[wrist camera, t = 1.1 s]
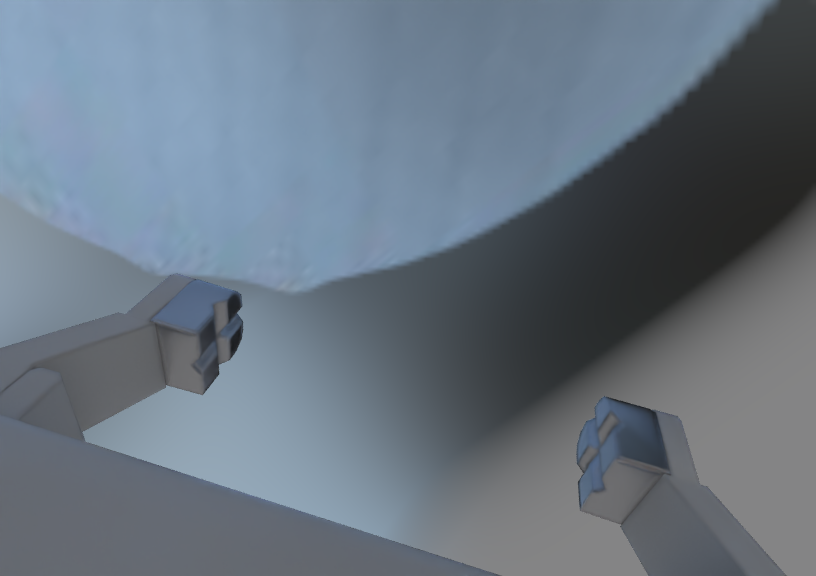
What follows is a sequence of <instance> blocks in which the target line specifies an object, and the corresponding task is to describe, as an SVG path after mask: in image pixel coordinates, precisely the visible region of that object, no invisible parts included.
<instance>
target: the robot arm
mask: <svg viewBox="0 0 816 576" xmlns="http://www.w3.org/2000/svg"><path fill="white" fill-rule="evenodd" d="M241 307H242V298H241V294H240V293H238V292H237V291H234V290H231V289H227V288H224V287H221V286H218V285H215V284H212V283H208V282H205V281H202V280H199V279H194V278H191V277H188V276H184V275H181V274H178V273H176V274H172V275H170V276H169V277H168V278H166V279H165V280H164V281H163V282H162V283H161V284H160V285H158V286H157V287H156V288H155V289H154V290H152V291H151V292H150V293H149V294H148V295H147V296H146V297H144V298H143V299H142V300H141V301H140V302H139V303H138V304H137V305H135V306H134V307H133V308H132V309H131V310H130V311H128V312H127V313H126V314H122V313H115V314H112V315H109V316H106V317H102V318H99V319H95V320H92V321H89V322H86V323H82V324H79V325H76V326H72V327H69V328H66V329H62V330H59V331H56V332H52V333H49V334H46V335H42V336H39V337H36V338H32V339H29V340H26V341H23V342H20V343H16V344H12V345H9V346H6V347H3V348H0V576H500V575H498V574H494V573H491V572H488V571H485V570H482V569H479V568H476V567H472V566H469V565H466V564H463V563H460V562H457V561H454V560H451V559H448V558H445V557H441V556H438V555H435V554H432V553H429V552H426V551H423V550H420V549H416V548H413V547H410V546H407V545H404V544H401V543H398V542H395V541H392V540H388V539H385V538H382V537H379V536H376V535H373V534H370V533H367V532H363V531H361V530H357V529H354V528H351V527H348V526H345V525H342V524H339V523H336V522H332V521H330V520H326V519H323V518H320V517H317V516H314V515H311V514H308V513H305V512H301V511H298V510H295V509H292V508H289V507H286V506H283V505H280V504H277V503H274V502H271V501H268V500H265V499H261V498H258V497H255V496H252V495H249V494H245V493H242V492H240V491H237V490H233V489H230V488H227V487H224V486H221V485H218V484H215V483H212V482H209V481H205V480H202V479H199V478H196V477H193V476H190V475H187V474H183V473H181V472H178V471H175V470H171V469H168V468H165V467H162V466H159V465H156V464H153V463H150V462H147V461H144V460H140V459H137V458H134V457H131V456H128V455H125V454H122V453H119V452H116V451H112V450H109V449H106V448H103V447H100V446H97V445H94V444H91V443H87V442H85V439H84V436H83V433H82V432H83V431H85V430H87V429H89V428H90V427H92V426H94V425H96V424H98V423H100V422H102V421H103V420H105V419H107V418H109V417H111V416H113V415H115V414H117V413H119V412H120V411H122V410H124V409H126V408H128V407H130V406H132V405H134V404H135V403H137V402H139V401H141V400H143V399H145V398H147V397H149V396H150V395H152V394H154V393H156V392H158V391H160V390H162V389H164V388H166V385H168V386H172V387H175V388H179V389H182V390H186V391H190V392H193V393H197V394H201V395H203V394H204V393H205V391H206V390H207V389H208V388H209V387H210V385H211V384H212V383H213V381H214V380H215V379H216V377H217V376H218V375H219V364H222V363H224V362H226V361H229V360H230V359H231V358H232V356H233V355H234V354H235V352H236V351H237V348H238V346H239V344H240V341H241V339H242V333H243V321H242V319H241V318H240V317H239V315H238V314H237V312H238V311H239V310H240V308H241ZM577 465H578V466H579V467H580V469H581V470H582V472H583V473H584V474H583V475H582V477H581V478H580V480H579V481H578V489H579V505H580V511H582V512H585V513H588V514H591V515H594V516H597V517H600V518H603V519H606V520H609V521H612V522H615V523H618V524H621V526H620V527H621V528H622V530H623V532H624V534H625V535H626V537H627V539H628V541H629V543H630V544H631V546H632V548H633V550H634V551H635V553H636V555H637V557H638V558H639V560H640V562H641V564H642V565H643V567H644V569H645V570H646V572H647V574H648V576H786V575H785V573H784V572H783V571H782V570H781V569H780V568H779V567H778V566H777V564H776V563H775V562H774V561H773V560H772V559H771V558H770V557H769V555H768V554H767V553H766V552H765V551H764V550H763V549H762V548H761V547H760V545H759V544H758V543H757V542H756V541H755V540H754V539H753V537H752V536H751V535H750V534H749V533H748V532H747V531H746V530H745V529H744V527H743V526H742V525H741V524H740V523H739V522H738V520H737V519H736V518H735V517H734V516H733V515H732V514H731V513H730V512H729V510H728V509H727V508H726V507H725V506H724V505H723V504H722V502H721V501H720V500H719V499H718V498H717V497H716V496H715V495H714V494H713V492H712V491H711V490H710V489H709V488H708V487H707V486H703V485H700V483H699V479H698V476H697V472H696V469H695V466H694V462H693V459H692V455H691V452H690V449H689V445H688V442H687V438H686V435H685V432H684V428H683V425H682V421H681V420H680V419H679V418H678V416H675V415H671V414H668V413H664V412H660V411H656V410H651V409H648V408H644V407H641V406H637V405H634V404H630V403H626V402H623V401H619V400H616V399H612V398H609V397H605V396H604V397H603V398H601V399H600V400H599V402H598V403H597V405H596V406H595V418H593V419H591V420H589V421H586V423H585V425H584V427H583V429H582V431H581V433H580V437H579V440H578V443H577Z"/></svg>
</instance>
